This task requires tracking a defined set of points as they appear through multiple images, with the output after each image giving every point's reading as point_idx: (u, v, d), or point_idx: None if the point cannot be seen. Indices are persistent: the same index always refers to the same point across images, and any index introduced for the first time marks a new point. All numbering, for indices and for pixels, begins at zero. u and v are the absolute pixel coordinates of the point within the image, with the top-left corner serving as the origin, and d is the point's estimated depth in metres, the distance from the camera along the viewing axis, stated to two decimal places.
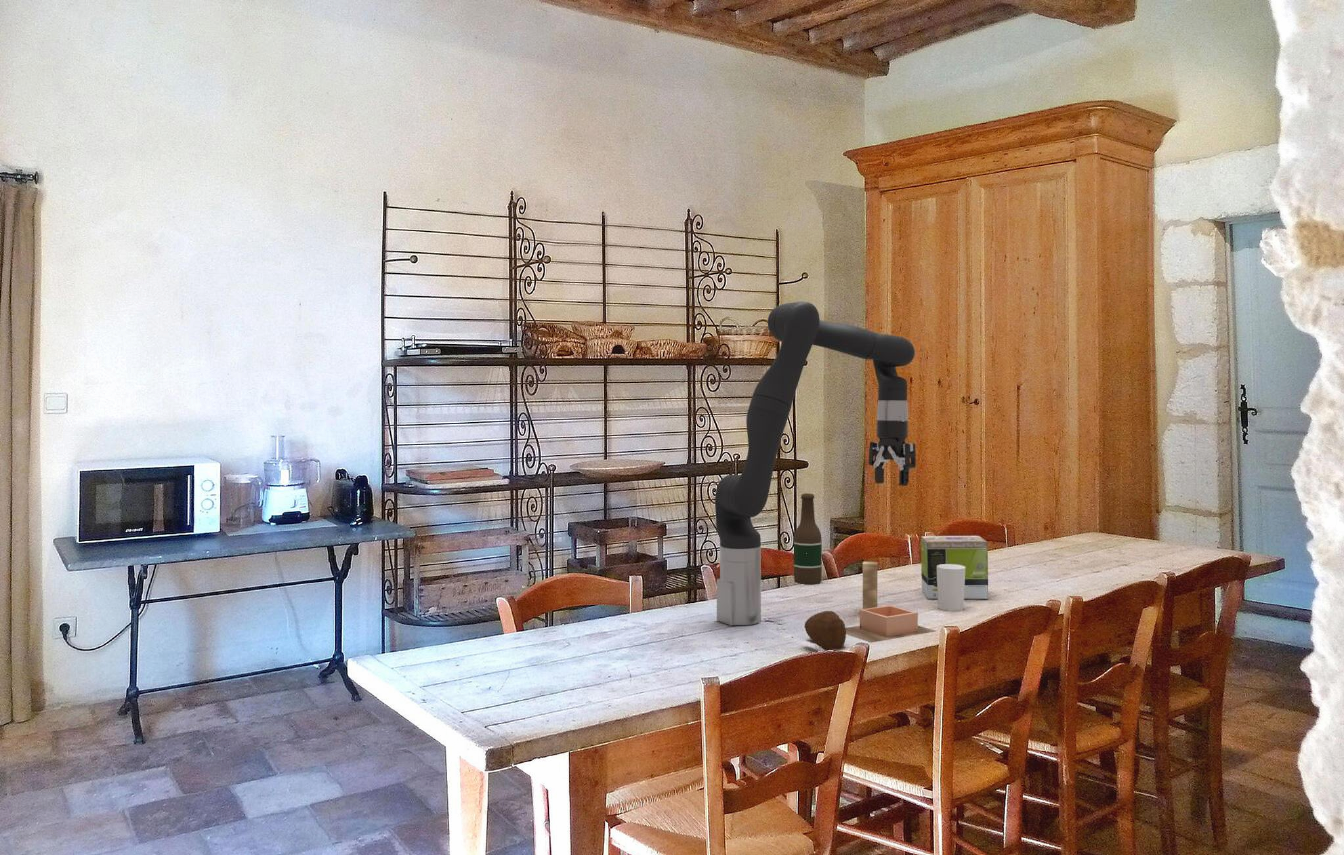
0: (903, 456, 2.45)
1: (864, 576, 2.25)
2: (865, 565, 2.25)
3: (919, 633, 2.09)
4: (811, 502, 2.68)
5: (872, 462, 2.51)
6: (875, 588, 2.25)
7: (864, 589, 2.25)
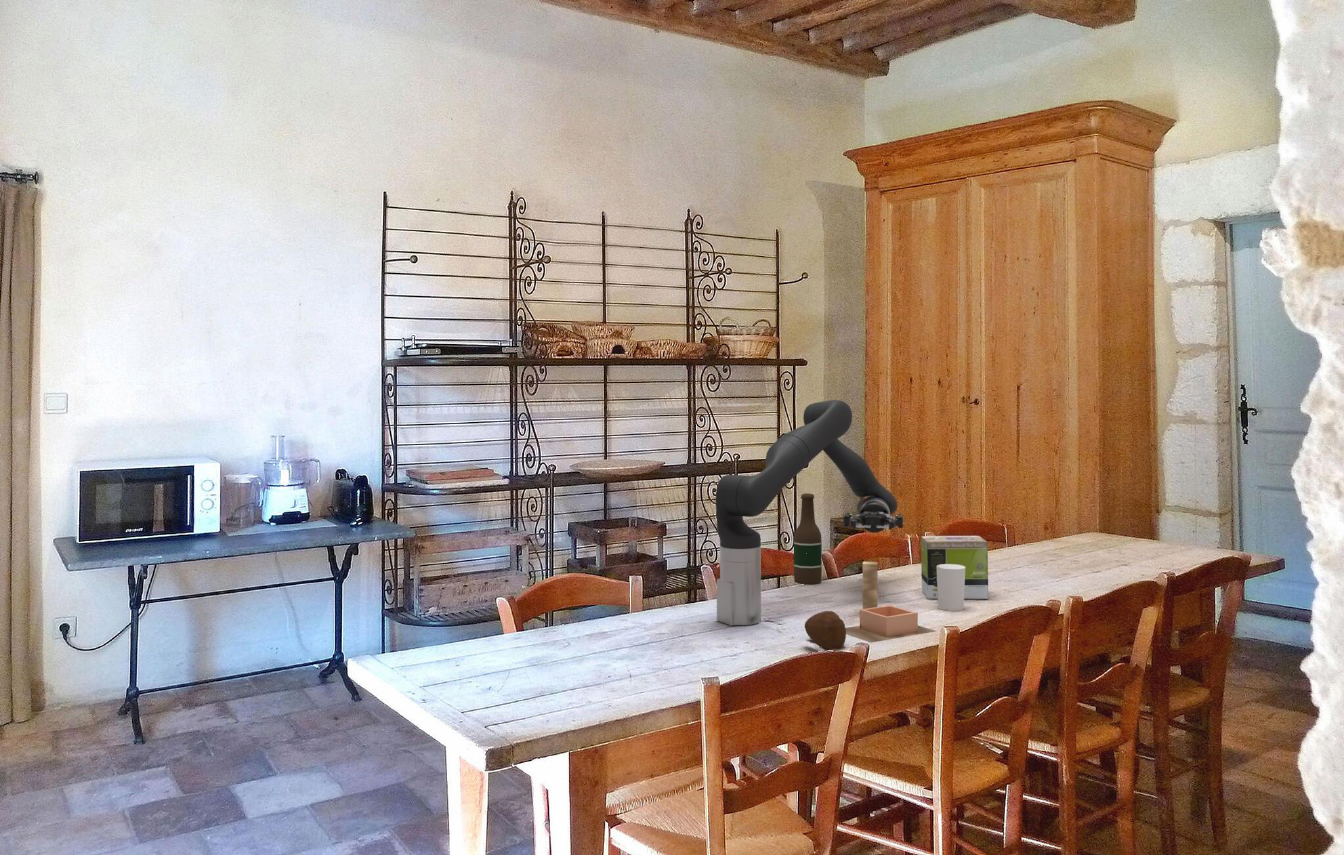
0: None
1: (864, 576, 2.25)
2: (865, 565, 2.25)
3: (919, 633, 2.09)
4: (811, 502, 2.68)
5: (848, 517, 2.43)
6: (875, 588, 2.25)
7: (864, 589, 2.25)
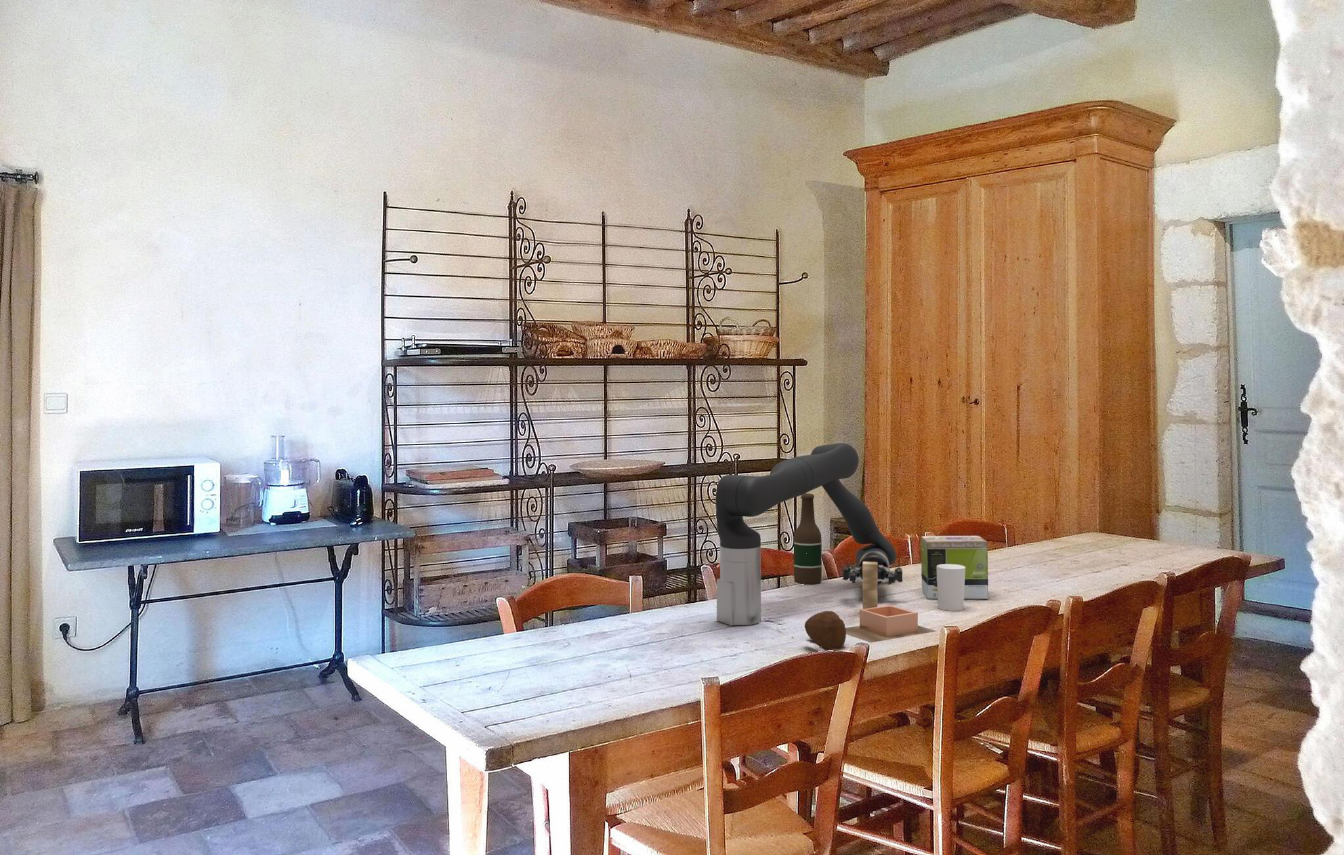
0: (884, 579, 2.44)
1: (864, 576, 2.25)
2: (865, 565, 2.25)
3: (919, 633, 2.09)
4: (811, 502, 2.68)
5: (847, 570, 2.44)
6: (875, 588, 2.25)
7: (864, 589, 2.25)
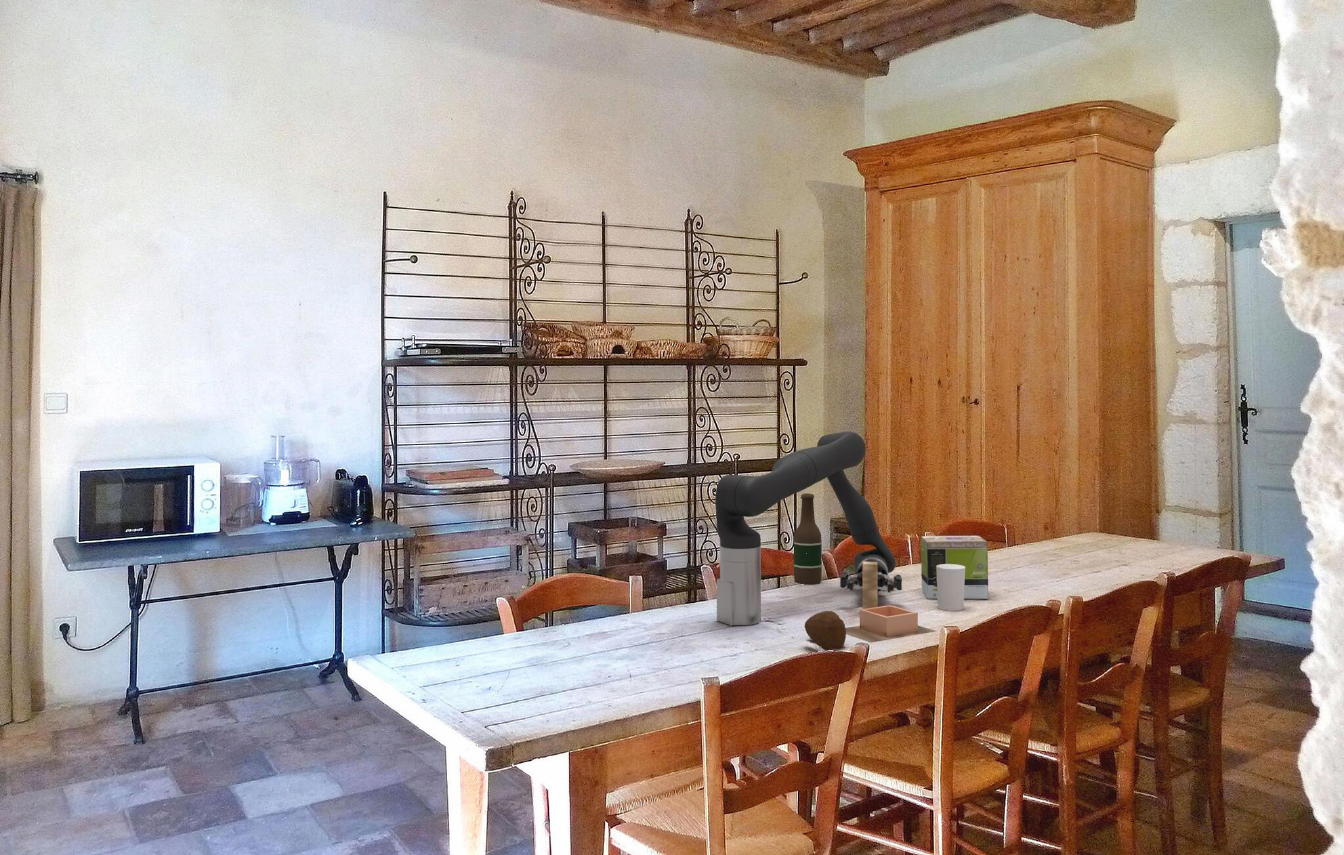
0: (883, 587, 2.35)
1: (864, 576, 2.25)
2: (865, 565, 2.25)
3: (919, 633, 2.09)
4: (811, 502, 2.68)
5: (845, 577, 2.35)
6: (875, 588, 2.25)
7: (864, 589, 2.25)
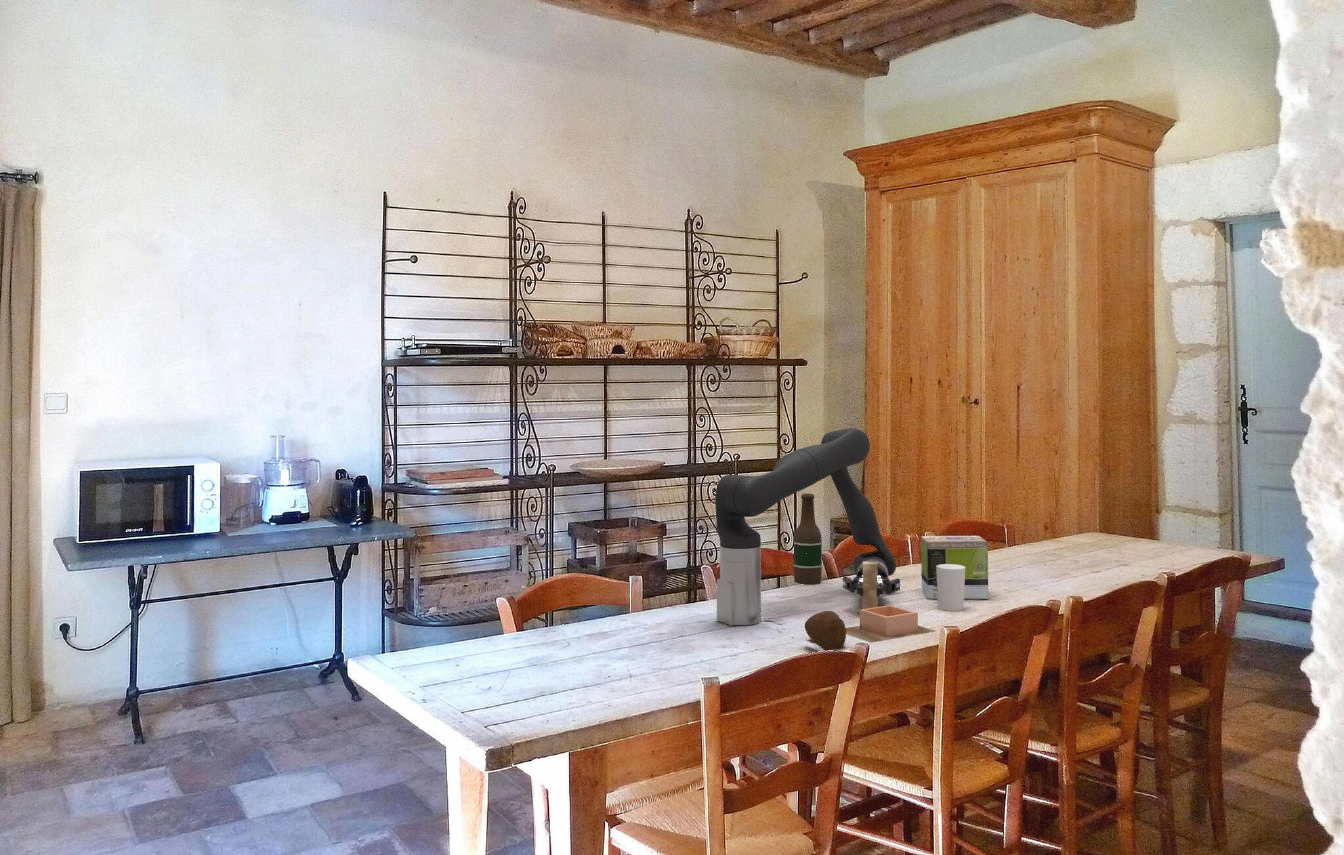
0: None
1: (864, 576, 2.25)
2: (865, 565, 2.25)
3: (919, 633, 2.09)
4: (811, 502, 2.68)
5: (854, 582, 2.30)
6: (875, 588, 2.25)
7: (864, 589, 2.25)
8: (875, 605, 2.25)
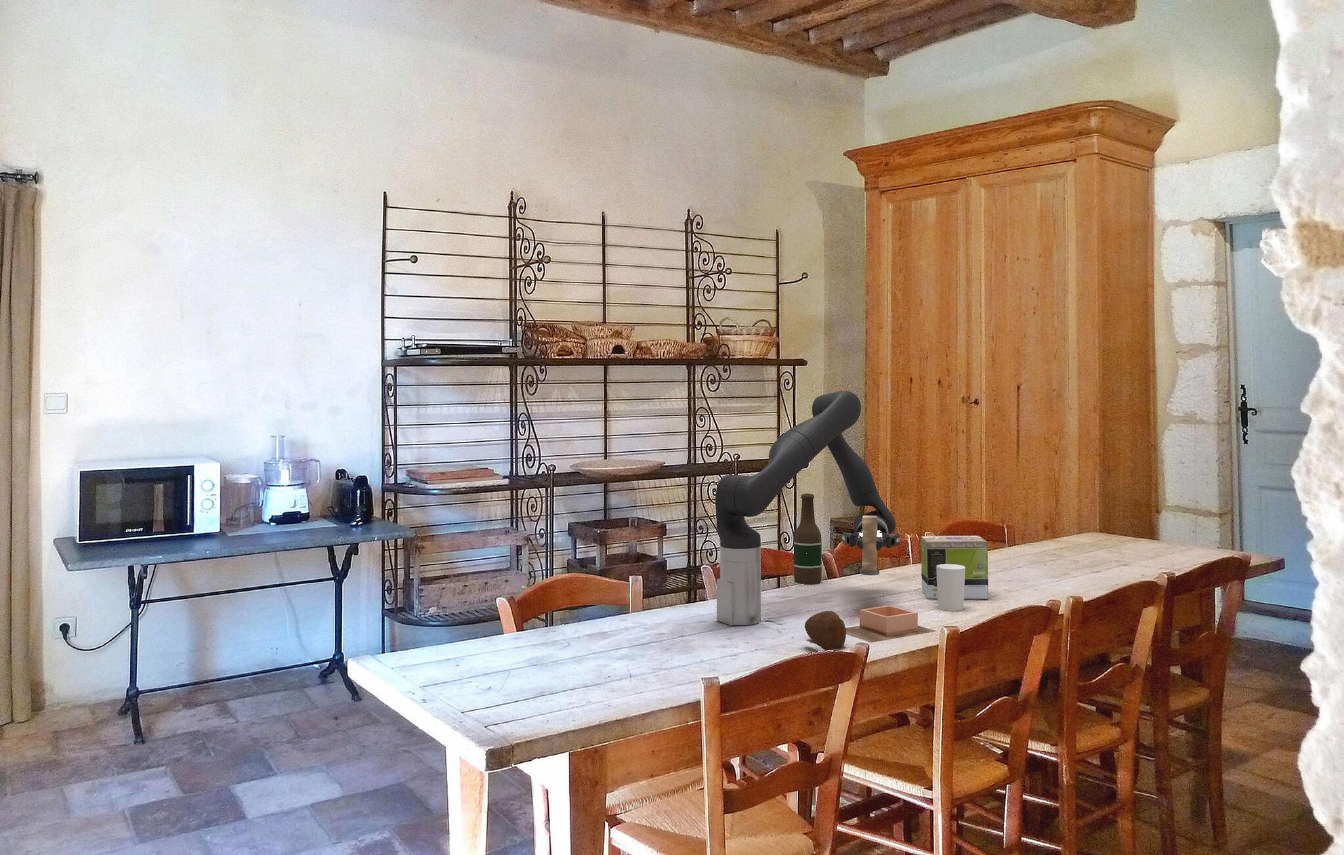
0: None
1: (864, 529, 2.25)
2: (865, 518, 2.24)
3: (919, 633, 2.09)
4: (811, 502, 2.68)
5: (854, 536, 2.29)
6: (875, 541, 2.24)
7: (864, 542, 2.25)
8: (875, 558, 2.24)
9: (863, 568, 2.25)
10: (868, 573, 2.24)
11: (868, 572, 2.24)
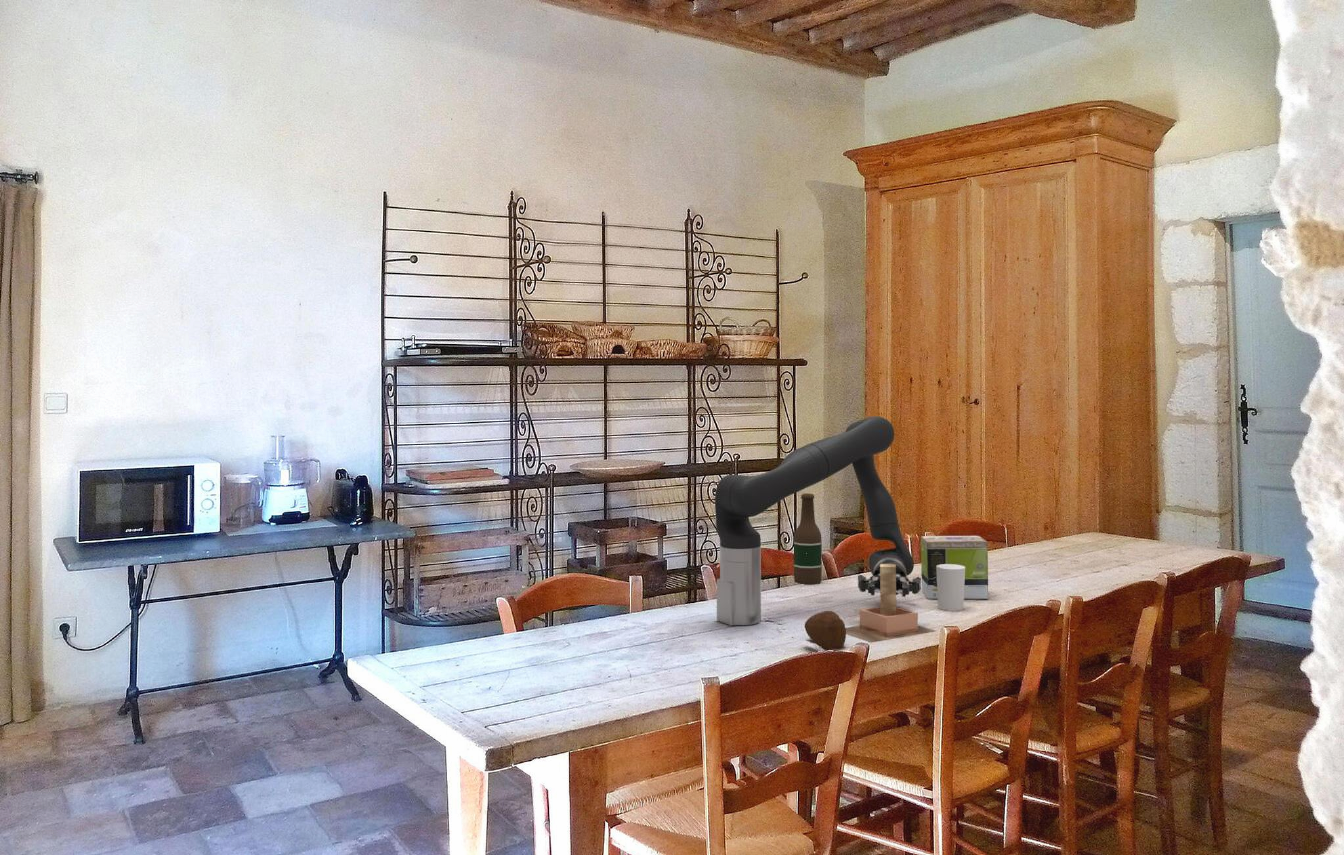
0: None
1: (882, 580, 2.11)
2: (883, 568, 2.11)
3: (919, 633, 2.09)
4: (811, 502, 2.68)
5: (865, 581, 2.16)
6: (894, 592, 2.10)
7: (882, 593, 2.11)
8: (894, 610, 2.11)
9: None
10: None
11: None
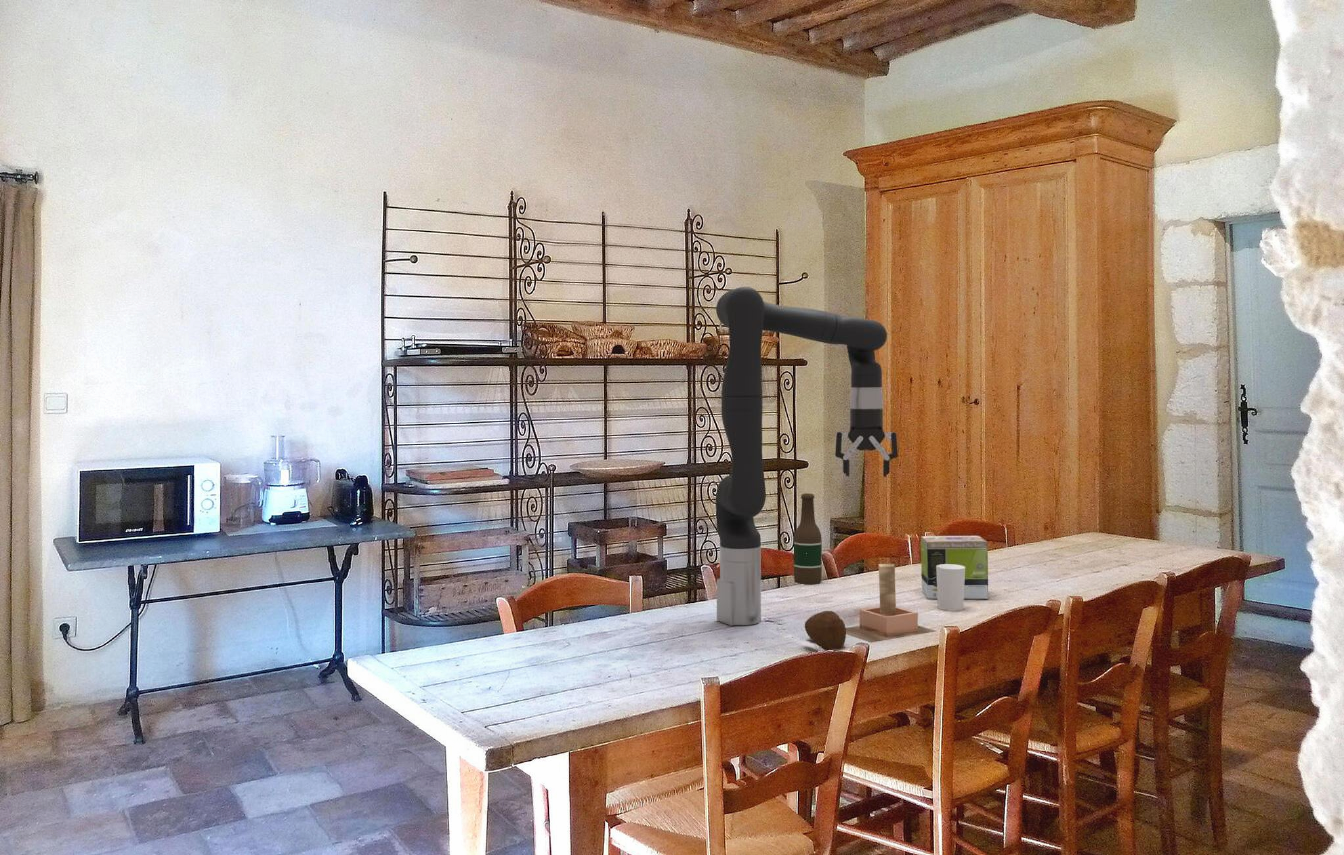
0: None
1: (881, 579, 2.11)
2: (882, 568, 2.11)
3: (919, 633, 2.09)
4: (811, 502, 2.68)
5: (840, 454, 2.33)
6: (893, 592, 2.11)
7: (882, 593, 2.11)
8: (894, 610, 2.11)
9: None
10: None
11: None
